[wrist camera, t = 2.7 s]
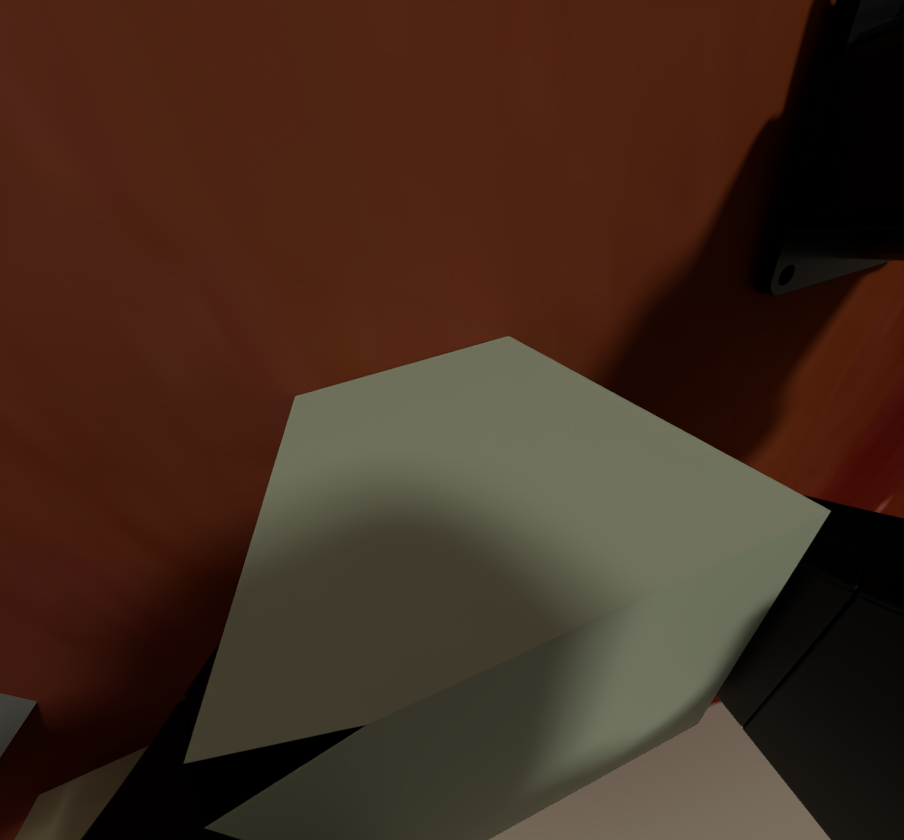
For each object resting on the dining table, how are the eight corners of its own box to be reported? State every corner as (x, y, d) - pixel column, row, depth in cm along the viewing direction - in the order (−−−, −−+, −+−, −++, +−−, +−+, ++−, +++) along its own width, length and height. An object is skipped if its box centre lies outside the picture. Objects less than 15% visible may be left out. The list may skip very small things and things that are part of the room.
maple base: (261, 687, 11) (229, 870, 8) (340, 745, 15) (340, 887, 12) (44, 785, 10) (-95, 1038, 7) (184, 821, 14) (136, 1000, 11)
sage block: (508, 336, 8) (830, 510, 3) (522, 488, 10) (697, 723, 5) (295, 396, 7) (168, 817, 2) (368, 545, 9) (399, 889, 4)
